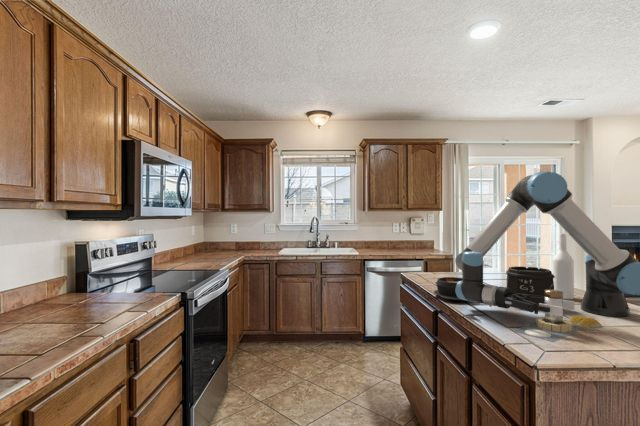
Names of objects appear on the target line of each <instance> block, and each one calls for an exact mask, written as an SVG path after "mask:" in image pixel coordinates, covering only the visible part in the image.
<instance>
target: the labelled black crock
mask: <svg viewBox="0 0 640 426" xmlns="http://www.w3.org/2000/svg"><path fill="white" fill-rule="evenodd" d="M505 273H506V287H507V288H510V289H511V290H512V293H513V294H516V293H523V294H530V295H540V296H545V290H547V289H550V290H554V282H553V278H555V277H554V275H553V271H551V270H550V269H548V268H544V267H535V266H528V267H526V266H511V267H509V266H508V269H507V270H506V271H505ZM538 305H539V304H538Z"/></svg>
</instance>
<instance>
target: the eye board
mask: <svg viewBox="0 0 640 426" xmlns="http://www.w3.org/2000/svg"><path fill="white" fill-rule="evenodd" d="M581 330H582V329H580V328H577V327H573V323H571V322H569V320H566V319H563V324H551V323H547V322H545V316H540V317H537V318H536V321H535V322H533V323H529V324H527V325H525V326H522V327H519V328H516V329H513V330H512V332H514V333H518V334H521V335H525V336H528V337H529V336H530V337H532V338H536V339H540V340H544V341H547V342H551V343H555V342H557V341H560V340H561V339H565V338H566V337H568V336H570V335H573V334H575V333H577V332H580V331H581Z"/></svg>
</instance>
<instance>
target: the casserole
mask: <svg viewBox="0 0 640 426" xmlns="http://www.w3.org/2000/svg"><path fill="white" fill-rule="evenodd" d="M462 278H463V277H458V276H457V277H454V276H451V277H450V276H446V277H439V278H437V280H436V282H435V285H436V287H437V289H436V290H434V291H433V294H435V295H437V296H439V297H440V298H442V299H445V300H453V301H463V300H462V299H459V298H458V297H457V295H456V291H455V290H456V285H457V283H458V282H459V281H462Z"/></svg>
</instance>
